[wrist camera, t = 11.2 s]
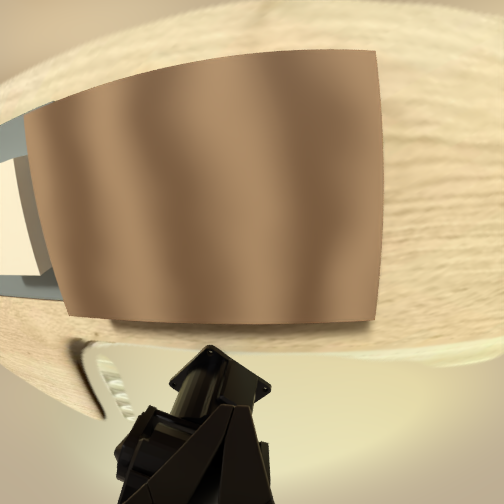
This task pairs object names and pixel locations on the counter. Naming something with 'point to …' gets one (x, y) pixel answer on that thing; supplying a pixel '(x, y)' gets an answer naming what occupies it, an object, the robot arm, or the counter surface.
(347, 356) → the counter surface
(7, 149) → the mat
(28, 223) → the tile
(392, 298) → the counter surface
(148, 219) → the block
